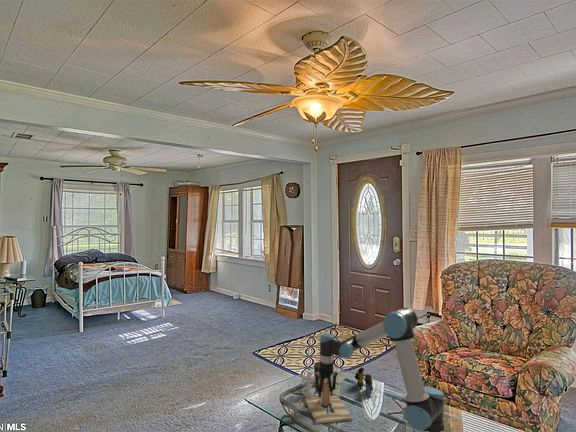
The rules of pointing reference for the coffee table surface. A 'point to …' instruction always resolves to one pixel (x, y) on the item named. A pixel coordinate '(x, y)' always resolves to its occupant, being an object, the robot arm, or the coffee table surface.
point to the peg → (325, 393)
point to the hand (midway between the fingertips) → (324, 401)
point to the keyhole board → (322, 417)
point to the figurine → (308, 384)
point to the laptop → (339, 375)
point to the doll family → (367, 379)
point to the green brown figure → (316, 369)
